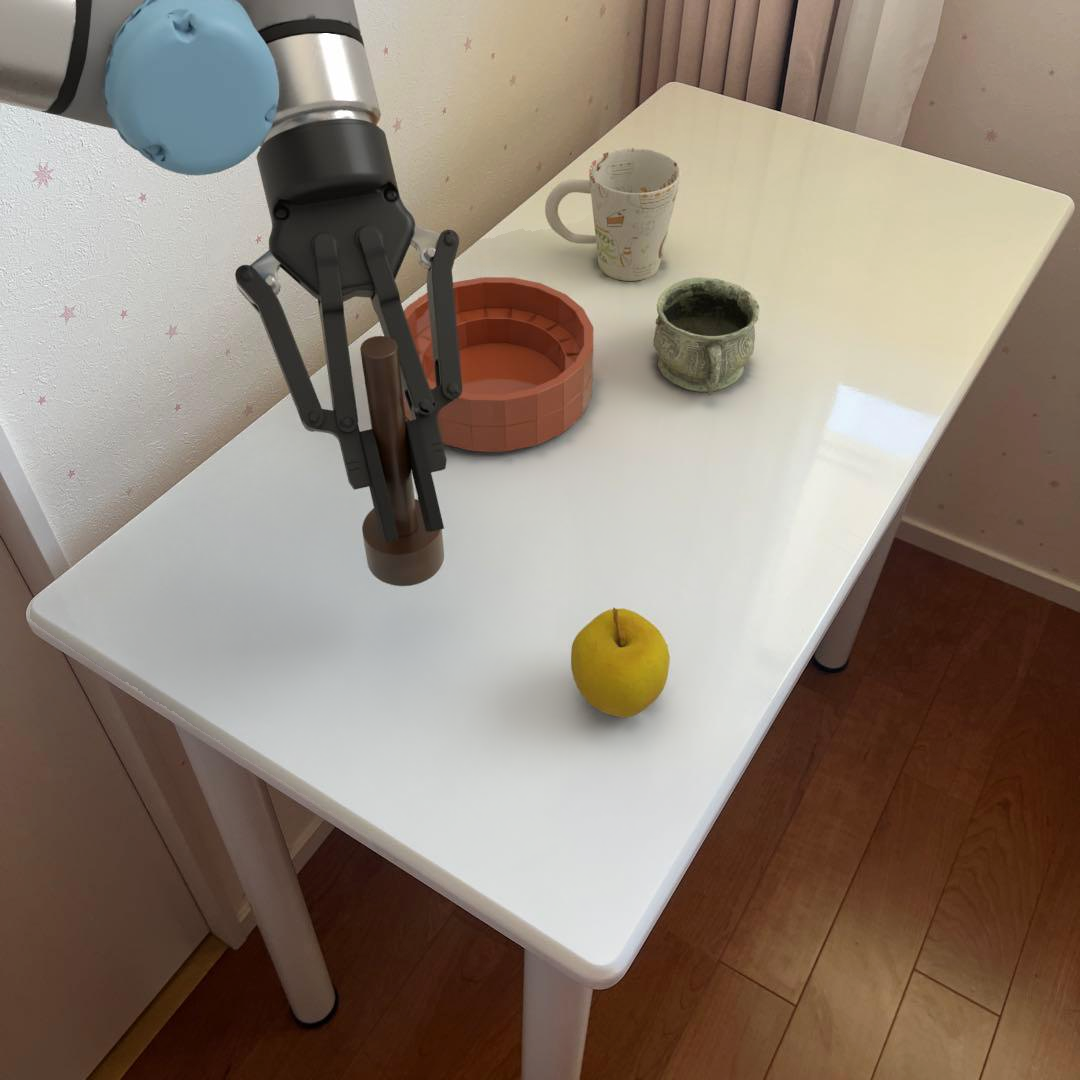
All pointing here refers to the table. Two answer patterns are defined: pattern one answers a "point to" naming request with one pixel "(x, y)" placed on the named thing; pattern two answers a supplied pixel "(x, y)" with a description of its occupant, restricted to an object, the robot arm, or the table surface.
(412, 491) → the brown joystick
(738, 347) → the vessel
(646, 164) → the mug
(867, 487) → the table surface
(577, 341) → the bowl
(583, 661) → the apple
